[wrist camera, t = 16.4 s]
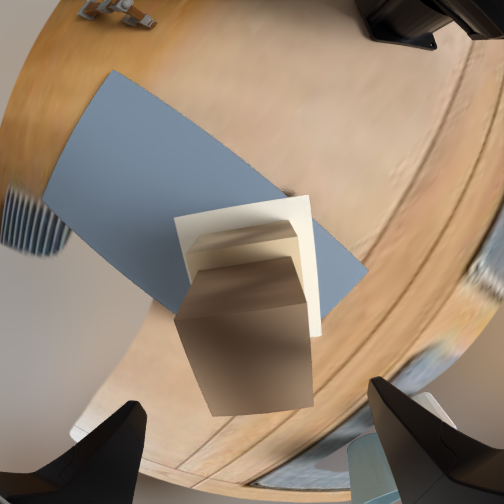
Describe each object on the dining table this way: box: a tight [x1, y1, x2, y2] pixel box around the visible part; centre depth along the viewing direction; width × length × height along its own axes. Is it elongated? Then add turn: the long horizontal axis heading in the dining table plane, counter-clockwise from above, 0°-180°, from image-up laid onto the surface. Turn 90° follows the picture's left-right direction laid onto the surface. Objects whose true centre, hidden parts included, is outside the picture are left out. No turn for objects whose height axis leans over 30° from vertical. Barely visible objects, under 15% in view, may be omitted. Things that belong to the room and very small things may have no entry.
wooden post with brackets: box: [77, 0, 157, 29], centre depth 12 cm, size 2×8×4 cm, turn 57°
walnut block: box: [174, 256, 314, 417], centre depth 13 cm, size 5×6×5 cm
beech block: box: [185, 220, 305, 295], centre depth 17 cm, size 6×8×4 cm
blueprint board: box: [42, 70, 368, 338], centre depth 19 cm, size 25×14×1 cm, turn 51°
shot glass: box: [411, 392, 457, 430], centre depth 23 cm, size 7×7×7 cm
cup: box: [347, 433, 401, 504], centre depth 23 cm, size 8×8×10 cm
